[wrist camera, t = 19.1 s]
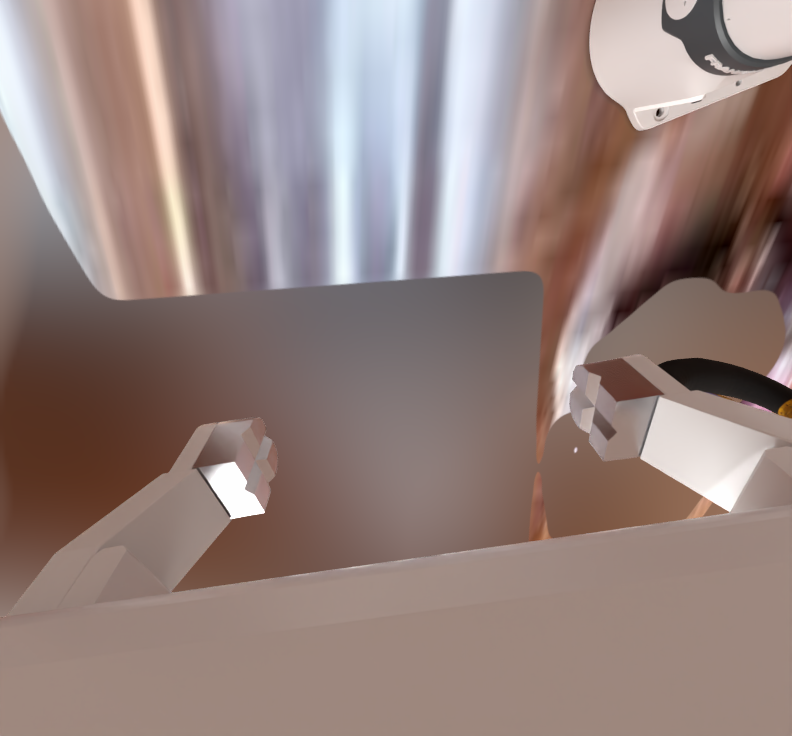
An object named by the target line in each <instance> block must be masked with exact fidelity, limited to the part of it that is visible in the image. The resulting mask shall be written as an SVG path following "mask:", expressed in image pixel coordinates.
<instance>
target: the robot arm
mask: <svg viewBox="0 0 792 736" xmlns="http://www.w3.org/2000/svg"><path fill="white" fill-rule="evenodd" d="M589 44H590V57H591V63H592V67H593V71H594V74H595V76H596V79H597V81H598V83H599V85H600V86H601V88H602V89H603V90H604V92H605V93H606V94H607V95H608V96H609V97H611V98H612V99H613V100H615V101H616V102H618V103H619V104H620V105H622V106H623V107H624V108H625V110H626V112H627V114H628V117H629V119H630V121H631V123H632V125H633V126H634V128H635V129H637V130H640V131H642V130H646V129H650V128H653V127H655V126H658V125H660V124H663V123H665V122H668V121H670V120H673V119H675V118H677V117H680V116H682V115H685V114H687V113H690V112H692V111H695V110H697V109H700V108H702V107H705V106H707V105H710V104H712V103H715V102H717V101H720V100H722V99H725V98H727V97H730V96H732V95H735V94H737V93H740V92H742V91H745V90H747V89H750V88H752V87H755V86H757V85H760V84H762V83H765V82H767V81H770V80H772V79H774V78H777V77H779V76H780V75H782V74H783V73H784V72H785V71H786V70H787V69H788V68H789V67H790V65H791V64H792V0H596V3H595V6H594V10H593V15H592V20H591V27H590V42H589ZM658 109H660V112H659V115H658V116H656V112H657V110H658ZM572 380H573V381H574V382H575V383H576V385H577V386H576V388H575V389H574V390H573V391H572V392H571V393H570V403H569V404H570V410H571V414H572V417H573V419H574V421H575V423H576V424H577V426H578V427H579V429H581V430H583V431H585V432H587V433H589V434H590V437H589V442H590V443H591V445H592V446H593V448H594V449H595V450H596V452H597V453H598V454H599V456H600V457H601V458H602V460H603V461H610V460H618V459H627V458H635V457H641V459H642V460H644V461H646V462H647V463H649V464H650V465H652V466H654V467H655V468H657V469H659V470H661V471H662V472H664V473H666V474H667V475H669V476H671V477H672V478H674V479H676V480H677V481H679V482H681V483H682V484H684V485H686V486H687V487H689V488H691V489H692V490H694V491H696V492H697V493H699V494H701V495H702V496H704V497H706V498H707V499H709V500H711V501H712V502H714V503H716V504H717V505H719V506H721V507H723V508H724V509H726V510H728V511H729V512H730V513H728V514H721V515H715V516H707V517H700V518H693V519H686V520H679V521H673V522H665V523H658V524H652V525H644V526H637V527H630V528H623V529H617V530H610V531H602V532H596V533H588V534H581V535H574V536H568V537H561V538H554V539H547V540H540V541H533V542H526V543H520V544H512V545H506V546H498V547H491V548H484V549H477V550H470V551H463V552H456V553H449V554H442V555H434V556H427V557H420V558H413V559H406V560H399V561H392V562H385V563H378V564H371V565H364V566H357V567H350V568H343V569H336V570H329V571H322V572H315V573H308V574H301V575H294V576H287V577H279V578H272V579H265V580H259V581H251V582H245V583H238V584H230V585H224V586H216V587H209V588H203V589H195V590H189V591H181V592H174V593H172V592H171V591H172V590H173V589H174V587H176V585H177V584H178V583H179V582H180V581H181V579H182V578H183V577H184V576H185V575H186V573H187V572H188V571H189V570H190V569H191V567H192V566H193V565H194V564H195V563H196V562H197V560H198V559H199V558H200V557H201V556H202V554H203V553H204V552H205V551H206V549H207V548H208V547H209V546H210V545H211V544H212V543H213V541H214V540H215V539H216V537H218V535H219V534H220V533H221V532H222V531H223V529H224V528H225V527H226V526H227V525H228V523H229V522H230V521H231V519H230V518H236V517H241V516H247V515H252V514H257V513H264V512H265V508H266V505H267V502H268V498H269V495H270V492H271V489H270V487H269V485H268V482H270V481H271V480H272V478H274V476H275V475H276V471H277V468H278V454H277V450H276V447H275V445H274V443H273V441H272V440H271V439H269V438H267V437H266V436H264V434H265V432H266V426H265V424H264V422H263V420H262V419H261V418H258V417H253V418H246V419H239V420H232V421H225V422H220V423H212V424H206V425H202V426H200V427H198V428H197V429H196V431H195V432H194V434H193V436H192V437H191V438H190V440H189V442H188V443H187V445H186V447H185V448H184V450H183V451H182V453H181V454H180V456H179V458H178V459H177V461H176V462H175V464H174V465H173V467H172V469H171V470H170V472H169V473H166V474H162V475H161V476H159V477H158V478H156V479H155V480H154V481H152V482H151V483H150V484H148V485H147V486H146V487H144V488H143V489H142V490H140V491H139V492H138V493H136V494H135V495H134V496H132V497H131V498H130V499H128V500H127V501H125V502H124V503H123V504H121V505H120V506H119V507H117V508H116V509H115V510H113V511H112V512H111V513H109V514H108V515H106V516H105V517H104V518H103V519H101V520H100V521H98V522H97V523H96V524H94V525H93V526H92V527H90V528H89V529H88V530H86V531H85V532H84V533H82V534H81V535H80V536H78V537H77V538H75V539H74V540H73V541H71V542H70V543H69V544H67V545H66V546H65V547H63V548H62V549H61V550H60V551H58V552H57V553H55V554H54V556H53V557H52V558H51V559H50V561H49V562H48V563H47V565H46V566H45V567H44V568H43V570H42V571H41V572H40V574H39V575H38V576H37V577H36V579H35V580H34V581H33V583H32V584H31V585H30V586H29V588H28V589H27V590H26V591H25V593H24V594H23V595H22V597H21V598H20V599H19V600H18V602H17V603H16V604H15V606H14V607H13V608H12V609H11V611H10V612H9V613H8V615H7V616H6V617H0V736H792V419H790V418H787V417H783V416H780V415H777V414H774V413H770V412H767V411H764V410H761V409H757V408H754V407H751V406H748V405H744V404H741V403H738V402H735V401H731V400H728V399H725V398H722V397H718V396H715V395H712V394H709V393H705V392H702V391H699V390H695V391H690V390H688V389H687V388H686V387H685V386H683V385H682V384H681V383H679V382H678V381H677V380H675V379H674V378H673V377H672V376H670V375H669V374H668V373H666V372H665V371H664V370H662V369H661V368H660V367H659V366H657V365H656V364H654V363H653V362H652V361H650V360H649V359H648V358H647V357H646V356H643V355H640V354H636V355H631V356H626V357H621V358H617V359H613V360H607V361H601V362H595V363H589V364H583V365H577V366H576V367H575V369H574V371H573V378H572Z"/></svg>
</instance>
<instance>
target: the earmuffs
mask: <svg viewBox="0 0 792 736" xmlns="http://www.w3.org/2000/svg"><path fill="white" fill-rule="evenodd" d="M657 366H659V367H660V368H661V369H662V370H664V371H665V372H666V373H668V374H669V375H670V376H672V377H673V378H674V379H675V380H677V381H678V382H679V383H681V384H682V385H683V386H685V387H686V388H687V389H688V390H690V391H695V390H699V391H702V392H705V393H709V394H712V395H715V396H718V397H722V398H725V399H728V400H731V401H734V400H732V399H729V398H727V397H724V396H721V395H725V396H731V397H734V398H738V399H742V400H745V401H748V402H751V403H754V404H757V405H759V406H762V407H764V408H766V409H768V410H770V411H772V412H774V413H776V414H778V415H780V416H783V417H787V418H790V419H792V390H791V389H790V388H788V387H786V386H784V385H782V384H781V383H779V382H777V381H775V380H772V379H770V378H768V377H766V376H763V375H761V374H758V373H756V372H753V371H750V370H748V369H745V368H742V367H738V366H735V365H732V364H728V363H723V362H719V361H713V360H708V359H703V358H689V359H677V360H671V361H666V362H664V363H661V364H659V365H657ZM735 402H736V401H735Z"/></svg>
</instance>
